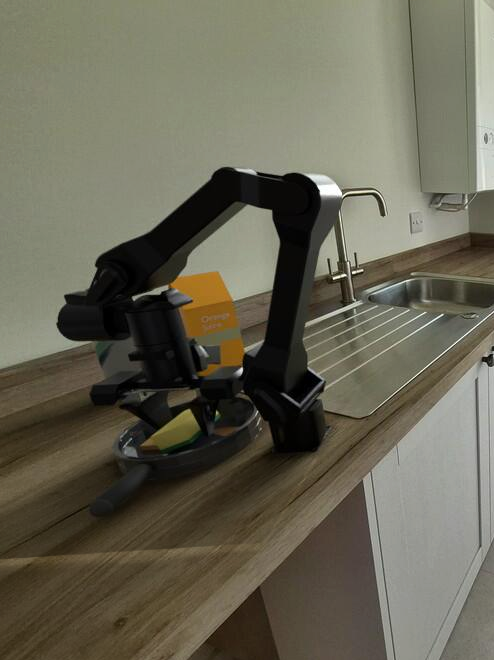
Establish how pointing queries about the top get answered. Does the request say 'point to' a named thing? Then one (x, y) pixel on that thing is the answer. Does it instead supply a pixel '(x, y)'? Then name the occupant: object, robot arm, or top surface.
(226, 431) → the pan
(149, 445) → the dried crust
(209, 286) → the orange juice
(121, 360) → the lotion bottle
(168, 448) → the sponge
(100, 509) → the pan handle
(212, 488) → the top surface
